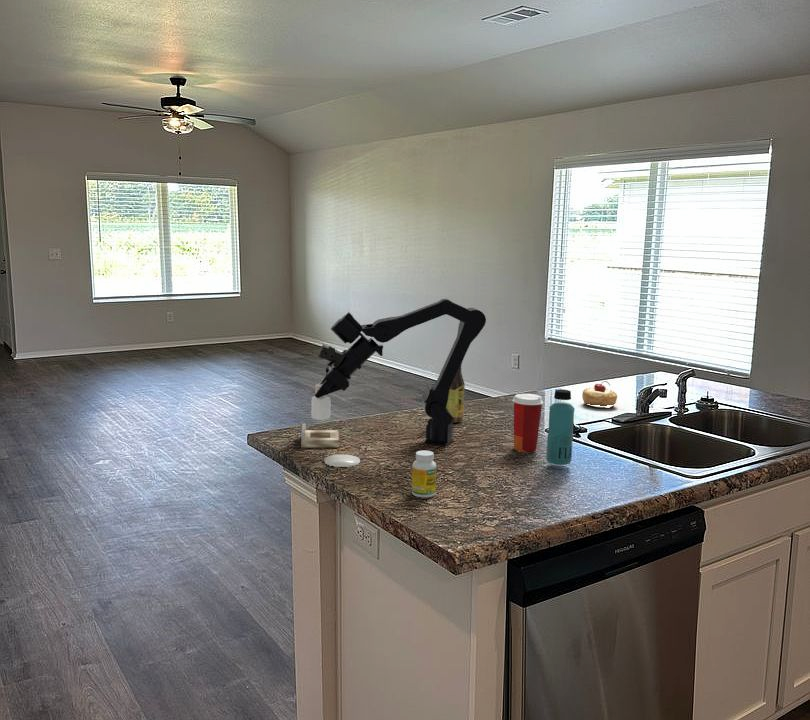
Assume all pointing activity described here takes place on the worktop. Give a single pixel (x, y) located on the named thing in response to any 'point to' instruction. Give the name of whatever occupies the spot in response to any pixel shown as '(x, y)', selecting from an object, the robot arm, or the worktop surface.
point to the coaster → (342, 460)
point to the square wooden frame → (319, 438)
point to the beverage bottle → (560, 429)
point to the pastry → (599, 395)
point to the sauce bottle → (456, 398)
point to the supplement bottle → (424, 474)
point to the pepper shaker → (320, 406)
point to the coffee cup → (526, 421)
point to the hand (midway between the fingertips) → (315, 395)
